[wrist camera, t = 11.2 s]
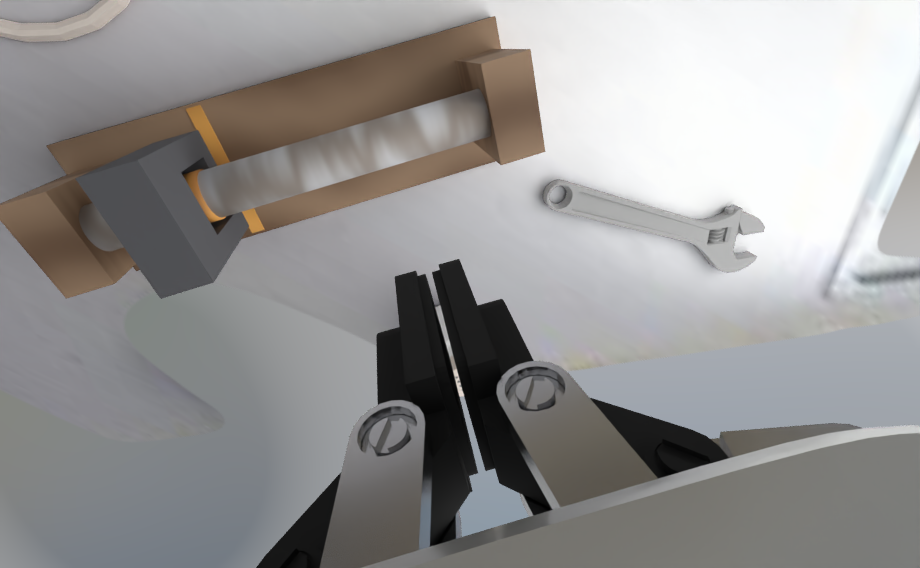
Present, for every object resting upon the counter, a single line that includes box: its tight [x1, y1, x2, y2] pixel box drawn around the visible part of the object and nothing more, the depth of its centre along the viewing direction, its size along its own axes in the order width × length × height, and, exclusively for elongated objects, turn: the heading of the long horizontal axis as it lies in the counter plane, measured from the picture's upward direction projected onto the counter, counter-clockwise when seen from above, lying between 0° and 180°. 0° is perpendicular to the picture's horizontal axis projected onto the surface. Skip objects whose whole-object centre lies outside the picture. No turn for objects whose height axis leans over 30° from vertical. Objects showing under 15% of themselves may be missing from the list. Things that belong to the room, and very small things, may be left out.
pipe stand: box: [0, 16, 545, 298], centre depth 30 cm, size 10×32×9 cm, turn 104°
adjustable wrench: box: [543, 180, 765, 273], centre depth 42 cm, size 25×6×2 cm, turn 68°
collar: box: [75, 130, 249, 298], centre depth 27 cm, size 7×3×9 cm, turn 14°
